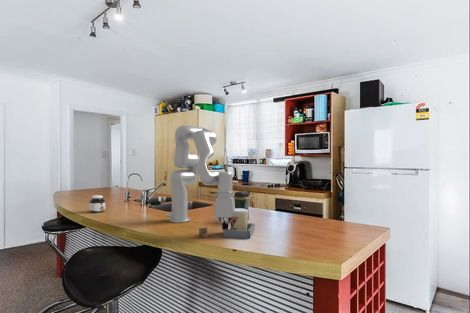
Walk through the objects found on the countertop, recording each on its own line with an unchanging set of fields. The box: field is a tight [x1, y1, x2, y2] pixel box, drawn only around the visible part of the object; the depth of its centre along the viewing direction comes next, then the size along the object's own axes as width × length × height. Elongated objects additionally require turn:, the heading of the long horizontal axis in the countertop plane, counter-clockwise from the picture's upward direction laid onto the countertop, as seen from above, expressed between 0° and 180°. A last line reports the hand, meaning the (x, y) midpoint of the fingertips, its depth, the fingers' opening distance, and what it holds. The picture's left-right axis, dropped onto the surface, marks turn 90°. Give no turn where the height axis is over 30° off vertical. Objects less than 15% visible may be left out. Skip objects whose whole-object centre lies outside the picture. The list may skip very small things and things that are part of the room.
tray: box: [223, 222, 256, 239], centre depth 142 cm, size 13×16×4 cm
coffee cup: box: [230, 208, 249, 231], centre depth 144 cm, size 9×9×12 cm
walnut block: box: [198, 227, 208, 239], centre depth 136 cm, size 4×4×4 cm
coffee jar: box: [233, 190, 250, 221], centre depth 172 cm, size 10×8×19 cm
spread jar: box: [88, 194, 106, 214], centre depth 202 cm, size 12×11×12 cm
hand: (225, 230), depth 144 cm, fingers closed
